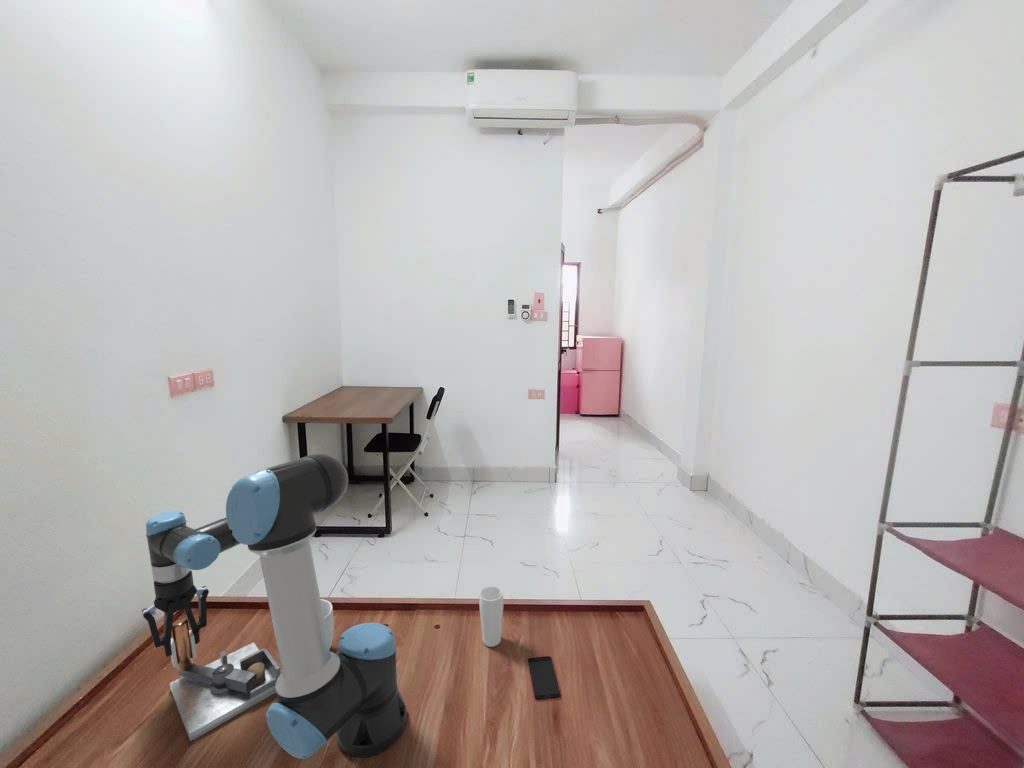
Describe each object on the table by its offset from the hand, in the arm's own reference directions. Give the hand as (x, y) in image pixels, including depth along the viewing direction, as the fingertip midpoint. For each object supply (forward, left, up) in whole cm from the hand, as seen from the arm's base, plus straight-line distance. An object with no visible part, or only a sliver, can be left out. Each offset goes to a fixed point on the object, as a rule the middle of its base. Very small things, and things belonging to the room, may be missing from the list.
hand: (184, 659), depth 113 cm
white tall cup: (-47, -63, -6) cm, 78 cm away
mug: (-16, -26, -6) cm, 31 cm away
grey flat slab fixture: (-11, -6, -6) cm, 14 cm away
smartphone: (-66, -63, -7) cm, 91 cm away
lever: (-8, -4, -3) cm, 10 cm away
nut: (-15, -12, -4) cm, 19 cm away
